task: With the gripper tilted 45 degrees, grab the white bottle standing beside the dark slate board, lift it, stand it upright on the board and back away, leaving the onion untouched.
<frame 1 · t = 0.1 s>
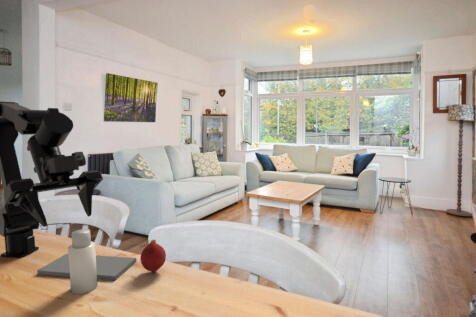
hand: (68, 220, 68), 15 cm above the table, tool tilted 35°, fingers open, 9 cm apart
onion: (153, 273, 76), on the table
slate board: (89, 267, 79), on the table
white bottle: (84, 287, 69), on the table
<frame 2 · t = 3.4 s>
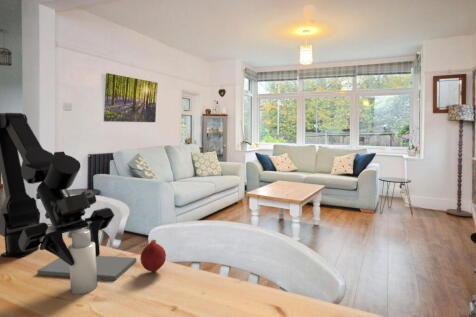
hand: (85, 260, 68), 7 cm above the table, tool tilted 45°, fingers closed on white bottle, 5 cm apart
white bottle: (84, 287, 69), on the table, touching gripper
everything else where it was.
when the fingers open (9 cm above the table, at t = 7.1 s): white bottle drops 1 cm, resting on slate board.
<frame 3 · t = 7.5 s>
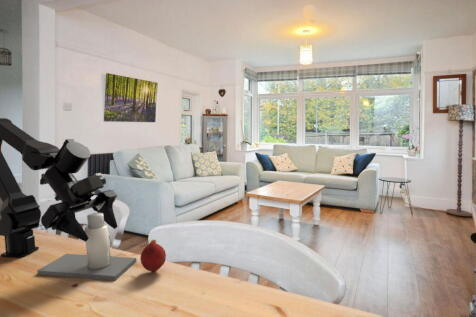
hand: (102, 233, 77), 9 cm above the table, tool tilted 45°, fingers open, 9 cm apart
white bottle: (99, 264, 78), point 1 cm above the table, touching slate board
everything else where it was.
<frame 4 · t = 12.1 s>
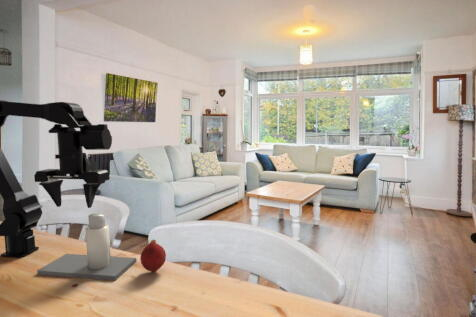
hand: (74, 207, 87), 13 cm above the table, tool pointing down, fingers open, 9 cm apart
nothing on the table moved.
at the end: white bottle inside the target area on the slate board (0.4 cm from its centre), point 1.0 cm above the slate board's base; white bottle tilted 0°; the gripper is holding nothing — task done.
